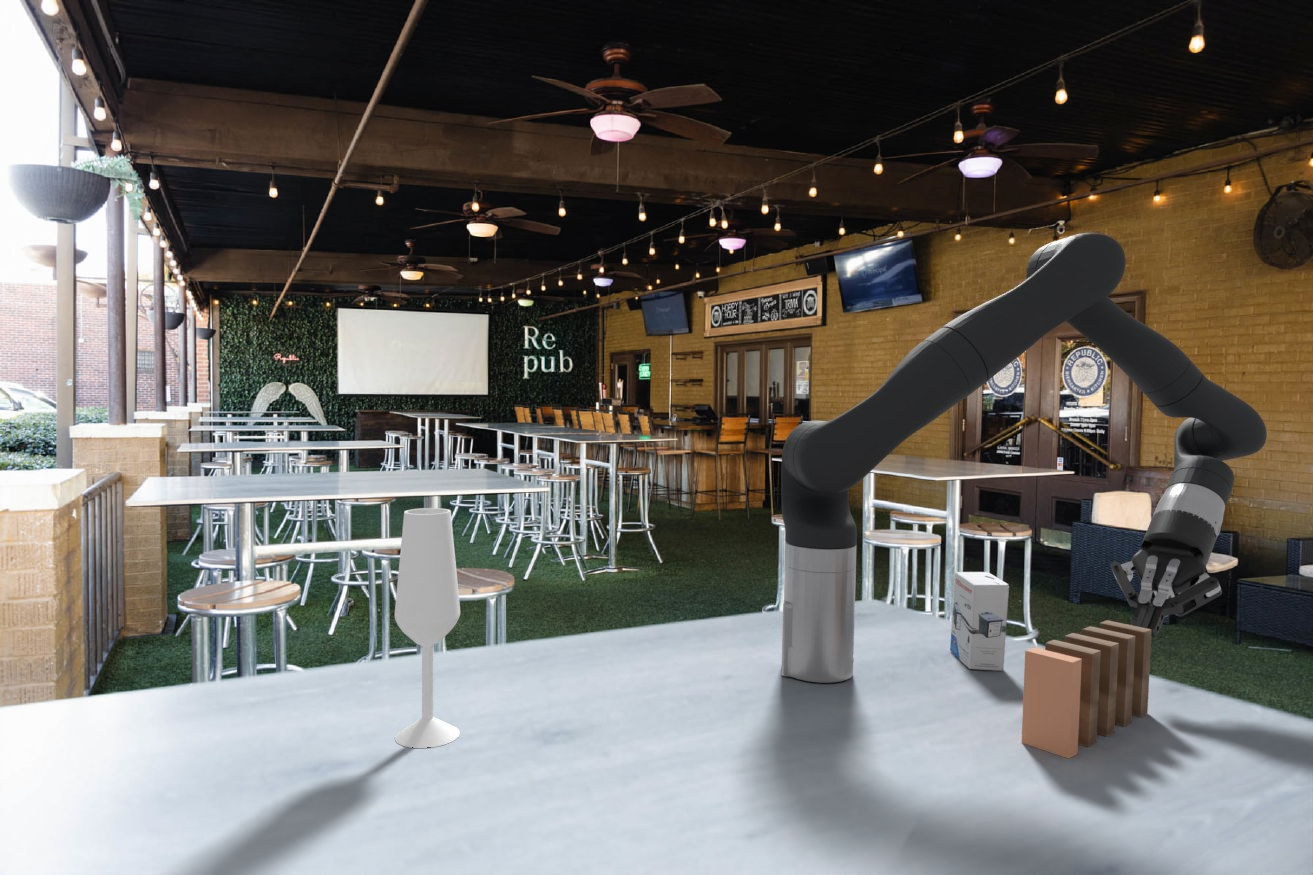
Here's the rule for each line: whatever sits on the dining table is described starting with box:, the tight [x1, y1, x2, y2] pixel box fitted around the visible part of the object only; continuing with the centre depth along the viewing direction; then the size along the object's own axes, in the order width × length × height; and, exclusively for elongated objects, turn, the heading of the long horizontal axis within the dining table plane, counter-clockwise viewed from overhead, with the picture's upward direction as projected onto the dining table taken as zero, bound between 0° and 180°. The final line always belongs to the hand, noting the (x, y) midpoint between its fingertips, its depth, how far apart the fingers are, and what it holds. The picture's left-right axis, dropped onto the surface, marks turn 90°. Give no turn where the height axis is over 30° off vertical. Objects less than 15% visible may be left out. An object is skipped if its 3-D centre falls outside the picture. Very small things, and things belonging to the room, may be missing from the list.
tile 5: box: [1021, 646, 1082, 759], centre depth 90 cm, size 2×5×10 cm, turn 40°
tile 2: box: [1081, 625, 1135, 727], centre depth 99 cm, size 2×5×10 cm, turn 40°
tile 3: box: [1063, 632, 1119, 738], centre depth 96 cm, size 2×5×10 cm, turn 40°
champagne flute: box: [394, 507, 461, 749], centre depth 91 cm, size 7×7×24 cm
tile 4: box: [1044, 639, 1101, 748], centre depth 93 cm, size 2×5×10 cm, turn 40°
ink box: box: [950, 571, 1010, 672], centre depth 119 cm, size 9×5×12 cm, turn 179°
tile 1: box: [1098, 619, 1152, 718], centre depth 102 cm, size 2×5×10 cm, turn 40°
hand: (1142, 635), depth 105 cm, fingers closed
